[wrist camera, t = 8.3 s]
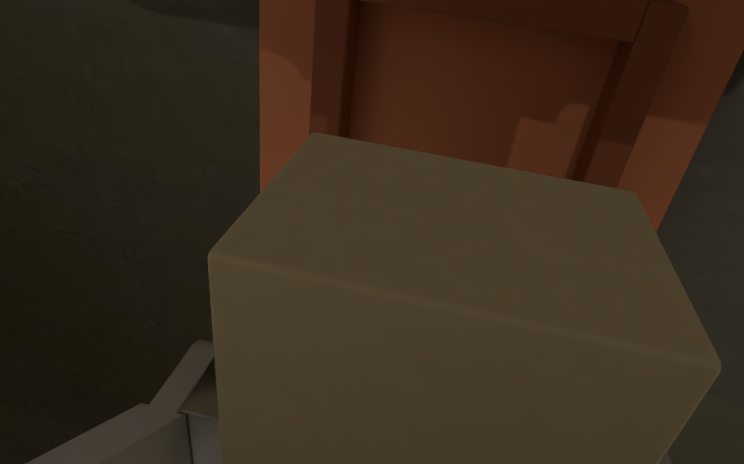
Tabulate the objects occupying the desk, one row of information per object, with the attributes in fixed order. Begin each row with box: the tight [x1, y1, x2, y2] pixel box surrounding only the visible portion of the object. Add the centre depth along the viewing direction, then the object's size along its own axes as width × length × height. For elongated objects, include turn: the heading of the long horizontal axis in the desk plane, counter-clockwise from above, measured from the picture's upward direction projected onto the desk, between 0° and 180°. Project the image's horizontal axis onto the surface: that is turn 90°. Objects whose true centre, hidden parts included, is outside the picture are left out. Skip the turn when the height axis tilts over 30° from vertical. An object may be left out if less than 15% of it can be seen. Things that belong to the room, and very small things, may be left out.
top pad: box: [208, 132, 721, 464], centre depth 10 cm, size 9×6×4 cm, turn 173°
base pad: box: [259, 0, 744, 232], centre depth 18 cm, size 16×14×2 cm
